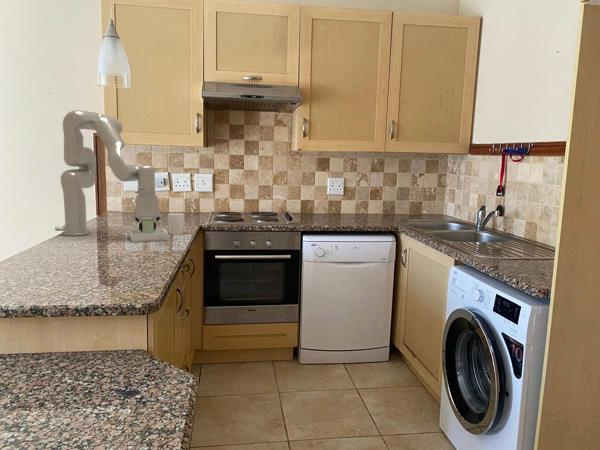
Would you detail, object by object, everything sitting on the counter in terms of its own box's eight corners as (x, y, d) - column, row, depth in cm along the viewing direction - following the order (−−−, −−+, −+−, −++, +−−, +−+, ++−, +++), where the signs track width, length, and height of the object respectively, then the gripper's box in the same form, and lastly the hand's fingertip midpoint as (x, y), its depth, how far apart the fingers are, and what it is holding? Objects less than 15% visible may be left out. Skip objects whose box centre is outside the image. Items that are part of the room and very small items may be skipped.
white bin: (131, 242, 218) (131, 234, 217) (128, 237, 232) (128, 229, 232) (168, 240, 224) (167, 233, 224) (163, 235, 239) (162, 228, 238)
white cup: (165, 234, 242) (164, 214, 241) (175, 232, 249) (175, 212, 248) (177, 235, 239) (176, 215, 237) (187, 233, 246) (187, 213, 244)
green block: (142, 233, 224) (142, 220, 224) (141, 231, 229) (141, 219, 228) (153, 233, 226) (153, 220, 226) (152, 231, 231) (152, 219, 230)
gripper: (127, 193, 218) (129, 233, 221) (166, 192, 225) (167, 231, 228) (126, 192, 225) (127, 230, 228) (164, 191, 232) (165, 229, 234)
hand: (147, 230), depth 228 cm, fingers closed on green block, 4 cm apart
